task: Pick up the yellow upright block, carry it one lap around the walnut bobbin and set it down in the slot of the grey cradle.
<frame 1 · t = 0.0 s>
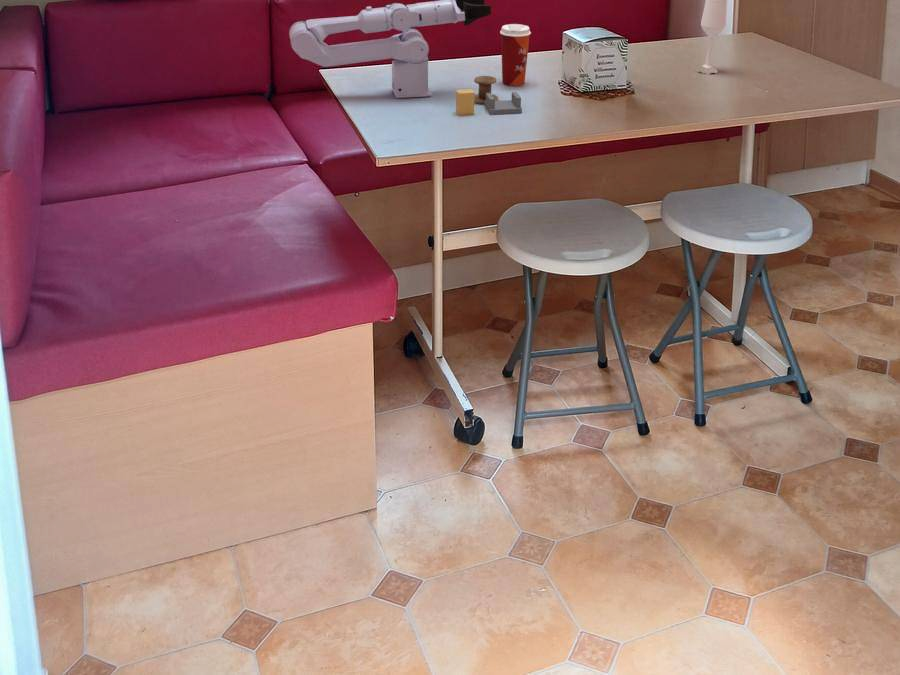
hand: (487, 6, 266), 22 cm above the table, tool horizontal, fingers open, 7 cm apart
bobbin: (484, 100, 269), on the table
champagne flute: (706, 71, 294), on the table
yellow upright block: (464, 112, 260), on the table
grey cradle: (502, 109, 262), on the table
coffee cup: (513, 83, 282), on the table
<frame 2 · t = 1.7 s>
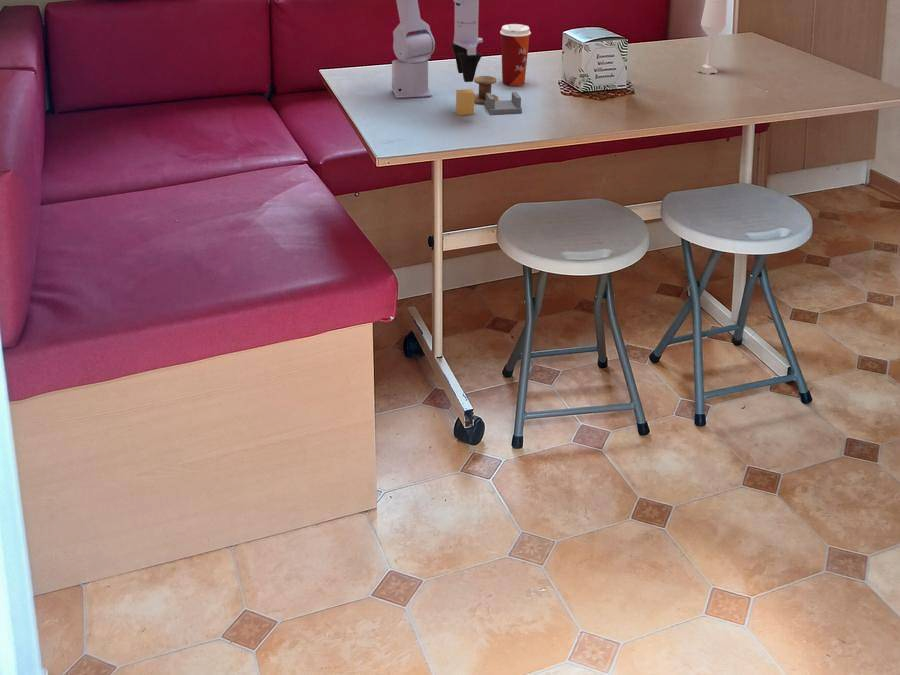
hand: (465, 77, 255), 9 cm above the table, tool pointing down, fingers open, 7 cm apart
nothing on the table moved.
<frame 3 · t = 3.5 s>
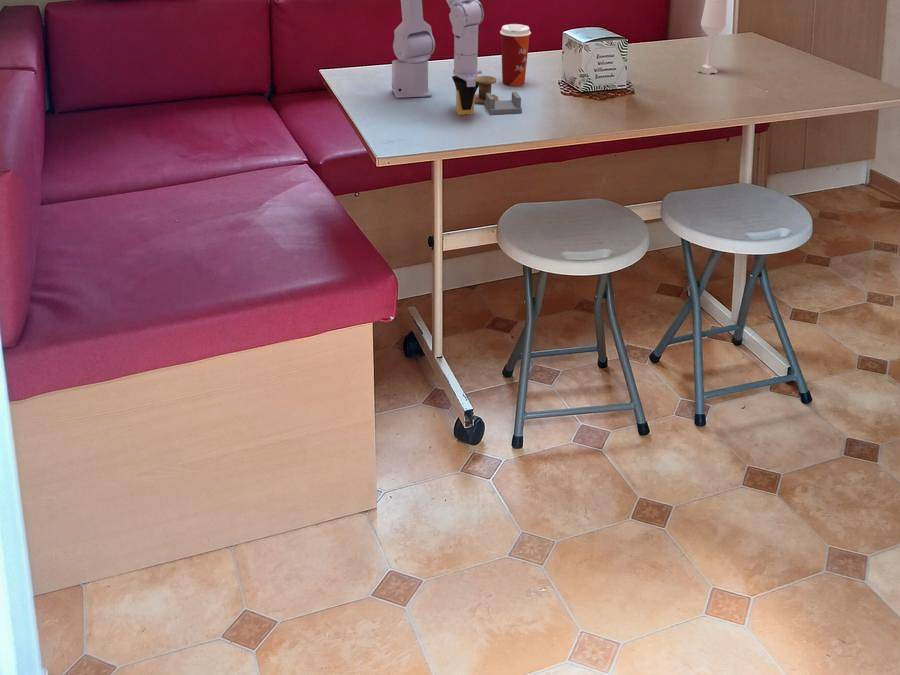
hand: (465, 107, 259), 1 cm above the table, tool pointing down, fingers closed on yellow upright block, 3 cm apart
yellow upright block: (464, 112, 260), on the table, touching gripper
everything else where it was.
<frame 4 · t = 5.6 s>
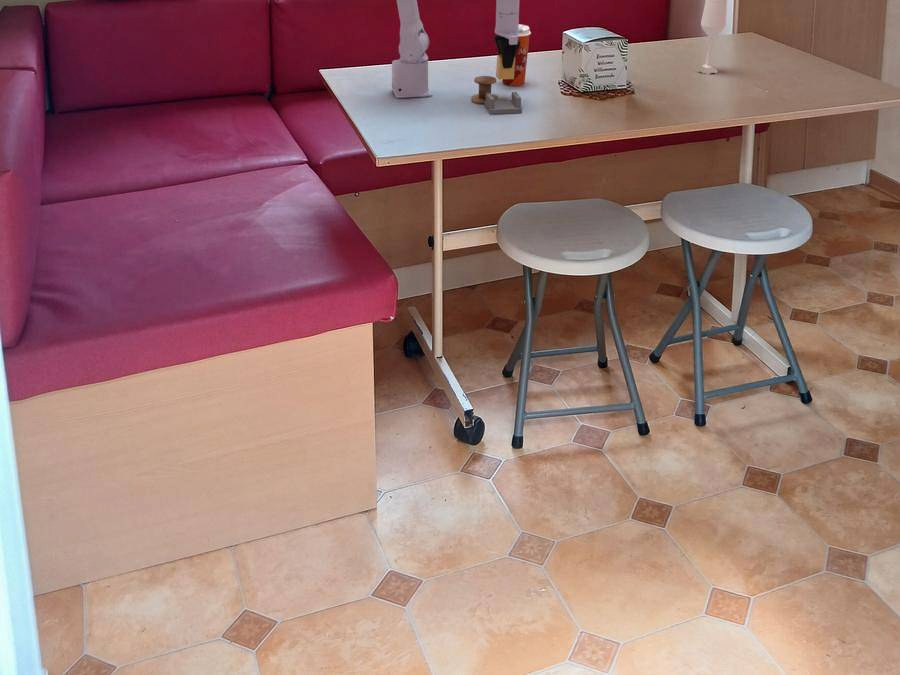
hand: (505, 66, 266), 9 cm above the table, tool pointing down, fingers closed on yellow upright block, 3 cm apart
yellow upright block: (504, 77, 267), point 6 cm above the table, touching gripper
everything else where it was.
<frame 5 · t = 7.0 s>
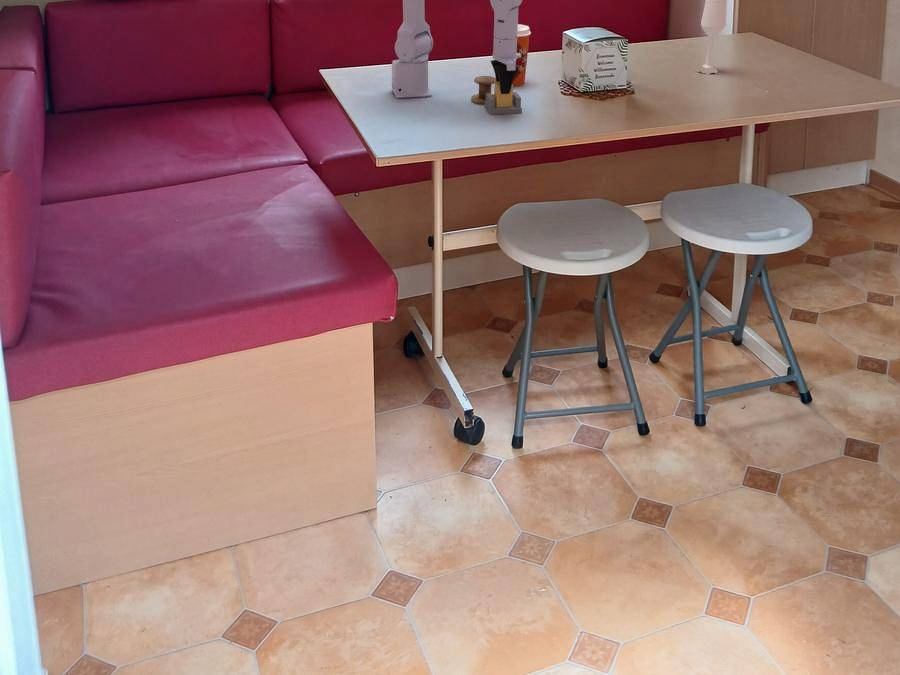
hand: (503, 91, 260), 5 cm above the table, tool pointing down, fingers closed on yellow upright block, 3 cm apart
yellow upright block: (502, 104, 262), point 1 cm above the table, touching grey cradle, gripper
everything else where it was.
when the fingers open (5 cm above the table, at t = 7.6 s): yellow upright block stays where it is, resting on grey cradle.
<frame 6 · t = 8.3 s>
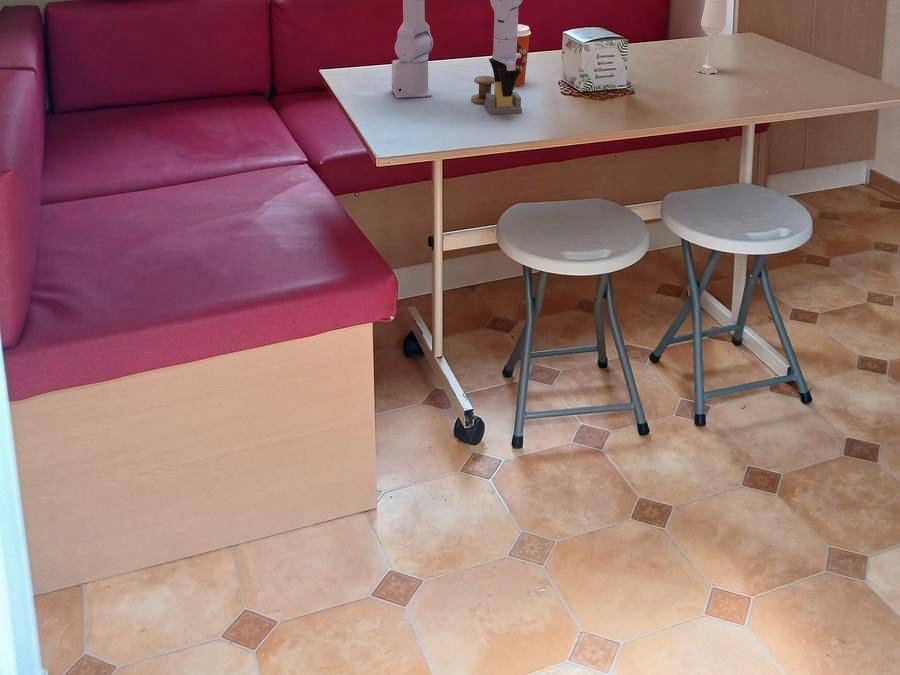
hand: (503, 91, 260), 5 cm above the table, tool pointing down, fingers open, 7 cm apart
yellow upright block: (502, 104, 262), point 1 cm above the table, touching grey cradle
everything else where it was.
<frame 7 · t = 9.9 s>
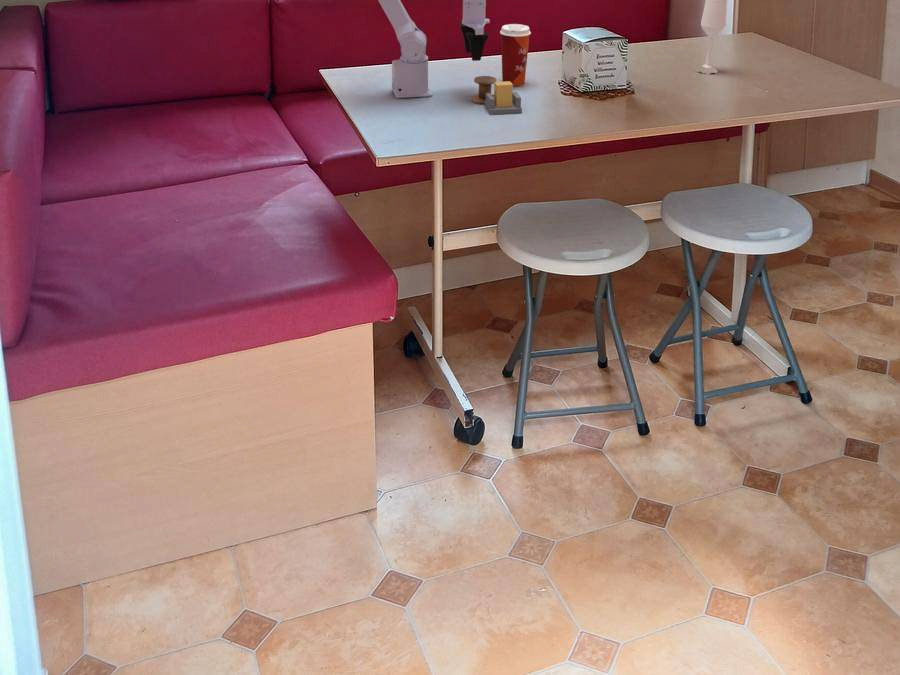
hand: (473, 56, 268), 10 cm above the table, tool pointing down, fingers open, 7 cm apart
nothing on the table moved.
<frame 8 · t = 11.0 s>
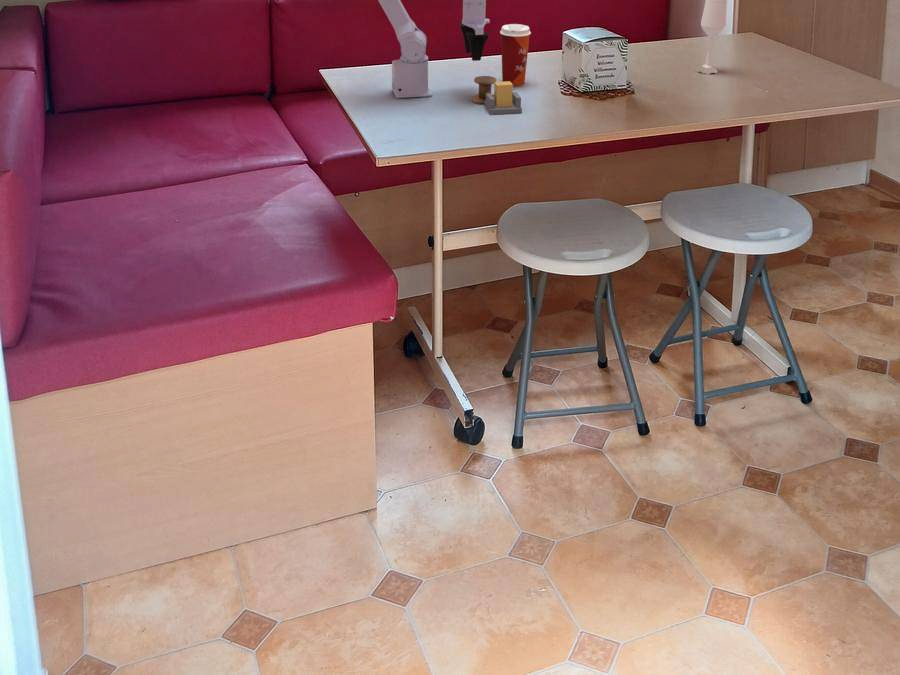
hand: (473, 56, 268), 10 cm above the table, tool pointing down, fingers open, 7 cm apart
nothing on the table moved.
at the end: yellow upright block 0.1 cm off-centre on the grey cradle, point 1.2 cm above the grey cradle's base; yellow upright block tilted 0°; the gripper is holding nothing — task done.
